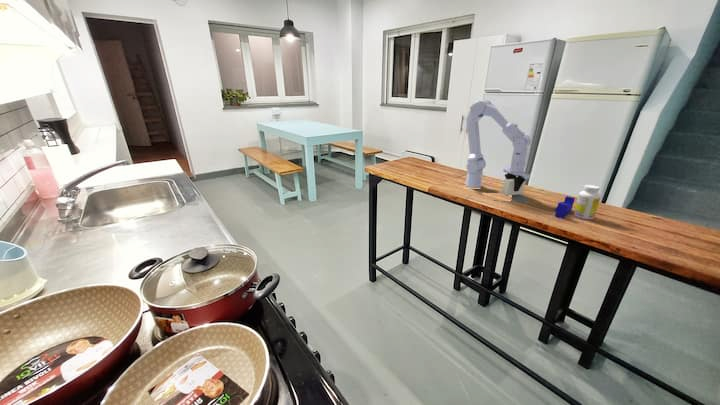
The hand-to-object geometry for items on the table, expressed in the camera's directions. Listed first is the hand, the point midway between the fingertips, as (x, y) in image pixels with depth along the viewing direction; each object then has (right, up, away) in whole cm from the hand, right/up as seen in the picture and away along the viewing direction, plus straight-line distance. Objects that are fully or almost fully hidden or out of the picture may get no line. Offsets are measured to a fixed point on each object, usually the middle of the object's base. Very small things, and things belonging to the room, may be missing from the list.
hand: (513, 189), depth 135 cm
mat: (-4, -4, 0) cm, 6 cm away
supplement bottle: (+17, -12, -22) cm, 30 cm away
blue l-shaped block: (+10, -11, -18) cm, 23 cm away
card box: (0, -2, +1) cm, 2 cm away
